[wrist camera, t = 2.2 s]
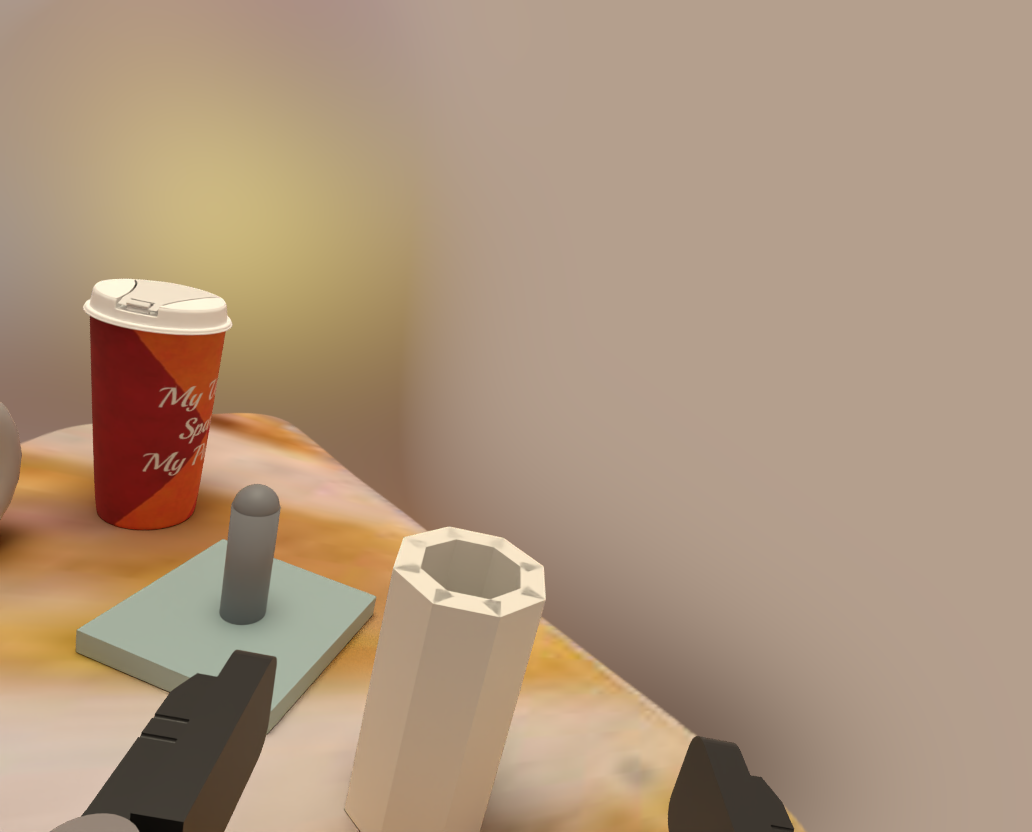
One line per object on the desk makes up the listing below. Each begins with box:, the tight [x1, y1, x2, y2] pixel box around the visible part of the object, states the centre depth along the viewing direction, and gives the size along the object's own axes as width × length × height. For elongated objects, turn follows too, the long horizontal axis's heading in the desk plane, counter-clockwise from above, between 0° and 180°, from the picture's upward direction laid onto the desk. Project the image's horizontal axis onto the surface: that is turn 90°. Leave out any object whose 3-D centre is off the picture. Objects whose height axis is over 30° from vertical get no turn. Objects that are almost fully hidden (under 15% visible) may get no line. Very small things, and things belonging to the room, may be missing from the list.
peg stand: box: [76, 484, 376, 734], centre depth 34 cm, size 10×10×8 cm
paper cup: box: [83, 279, 232, 530], centre depth 41 cm, size 8×8×14 cm
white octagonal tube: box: [345, 527, 546, 832], centre depth 26 cm, size 5×5×11 cm
